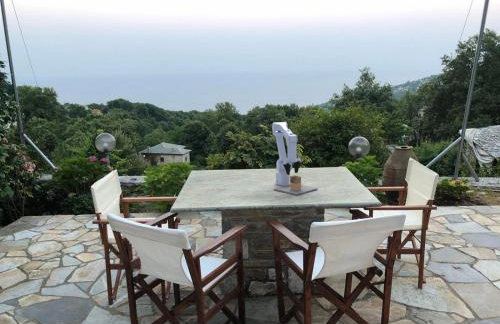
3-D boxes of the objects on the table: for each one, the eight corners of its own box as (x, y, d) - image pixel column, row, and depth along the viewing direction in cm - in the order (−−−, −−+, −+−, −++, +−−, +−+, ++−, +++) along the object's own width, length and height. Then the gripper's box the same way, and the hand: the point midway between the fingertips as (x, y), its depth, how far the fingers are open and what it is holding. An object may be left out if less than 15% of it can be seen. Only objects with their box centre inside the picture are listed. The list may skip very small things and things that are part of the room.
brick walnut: (290, 182, 257) (289, 176, 256) (294, 181, 259) (294, 175, 259) (296, 183, 252) (296, 177, 252) (301, 182, 255) (301, 176, 254)
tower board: (273, 190, 258) (273, 188, 258) (294, 185, 271) (294, 183, 270) (296, 195, 243) (296, 193, 243) (317, 189, 256) (317, 188, 255)
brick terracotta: (290, 188, 257) (290, 182, 257) (294, 187, 260) (294, 181, 259) (297, 189, 253) (297, 183, 252) (301, 188, 256) (301, 182, 255)
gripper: (288, 155, 247) (288, 176, 249) (304, 152, 256) (304, 172, 259) (280, 154, 252) (281, 174, 255) (296, 151, 262) (296, 171, 264)
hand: (292, 173), depth 257 cm, fingers open, 7 cm apart
